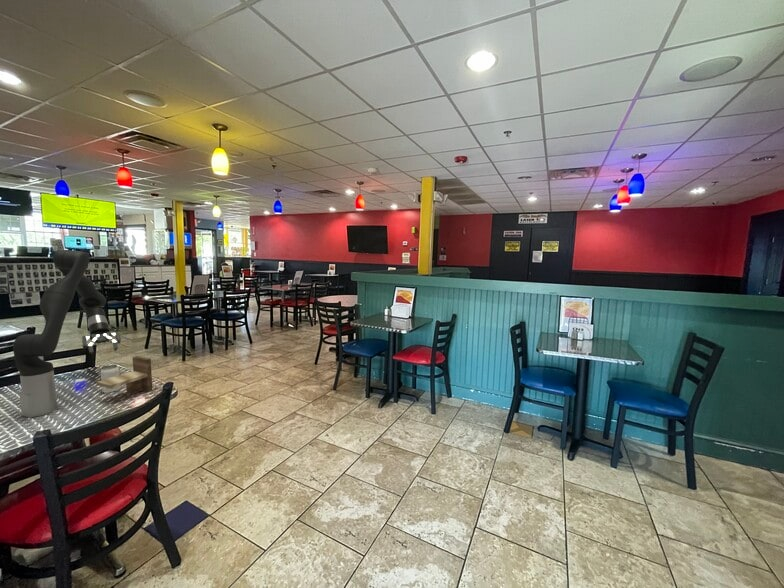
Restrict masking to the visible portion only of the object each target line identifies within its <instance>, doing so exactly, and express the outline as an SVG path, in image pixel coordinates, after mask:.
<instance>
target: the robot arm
mask: <svg viewBox="0 0 784 588" xmlns="http://www.w3.org/2000/svg"><path fill="white" fill-rule="evenodd" d="M52 261H53V263H54V266H55V267H56V268H57V270H59V272H60V273H61V274H63V277H62V278H60V279H59V280H58V281H56V282H54V283H53V284H51V285H50V286H49V287H47V288H46V289H45V290H44V292H43V294H42V297H41V298H40V301H39V304H38V305H39V309H40V311H41V313H42V316H43V318H44V320H45V324H44V328H43V330H42V332H41V333H30V334H29V333H27V334H26V333H25V334H21V335H19V336H17V337H16V339H14V342H13V345H12V348H13V349H12V353H13V357H14V360H15V361H14V362H15V366H16V370H18V372H19V378H20V387H21V389H20V390H21V392H19V395H18V396H19V401H20V402H19V403H20V412H21V416H23V417H25V418H29V419H31V418H34V417H35V418H36V417H41V416H44V415H47V414H50V413H53V412H55V411H56V410H57V409H58V402H57V393H56V381H55V371H54V364H53V363H52V362H50V361H46V360H44V359H43V360H41V359H40V358H39V357H40V356H43V357H48V356H51V355H52V354H54V352H55V351H56V349H57V347H58V344H59V342H60V336H61V333H62V328H63V325H64V321H65V319H66V316H67V314H68V311H69V310H70V307H71V305H72V302H73V299H74V297H75V294H76V292H77V294H78V295H79V297H80V298H79V299H78V303H79V304H78V305H80V307H81V308H82V309H83V310H84V312H85V314H86V318H87V328H88V331H89V335H88V336H87V335H82V336H81V337H82V339H81V341H82V343H81V344H82V349H88V351H89V352H88V353H89V354H91V355H94V354H95V351H94V346H95V345H96V344H101V343H109V344H111V345H112V346H113V347H112V348H113V352H116V351H117V350H118V349H119V346H118V344H121V342H122V340H121V339H122V338H121V336H120V334H119V331H115V332H111V331H110V327H109V323H108V319H107V317H106V312H105V310H104V309H103V308H102V307H103V306H105V305H106V304H107V298H106V297H105V295H104V294H102V293H101V291H98V289H97V288H96V286H95V284H94V282H93V281H92V280H91V279H90V278H89V277H87V276H86V275H85V272H86V271H87V269H88V267H89V264H90V255H89V254H88V253H87V252H86V251H83V250H70V249H58V250H56V251H55V252H54V254H53V257H52ZM113 337H114V338H115V339H114V338H113ZM88 340H91V341H90V342H89V344H88V343H87V342H88Z"/></svg>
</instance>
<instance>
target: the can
mask: <svg viewBox="0 0 784 588" xmlns="http://www.w3.org/2000/svg"><path fill="white" fill-rule="evenodd" d="M118 375H120V371H119V367H118V365H117V364H110V365H105V366H103V367H101V370H100V376H101V377H100V379H101V380H104V379H108V378H111V377H114V376H118ZM101 380H100V381H101ZM120 389H121V386H118V387H115V388H112V389H111V388H107V387H103V386H101V391H102V393H103V392H104V393H103V394H111V393H110V392H112V393H115V392H117V390H118V391H119V390H120ZM114 391H115V392H114Z"/></svg>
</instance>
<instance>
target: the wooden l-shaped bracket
mask: <svg viewBox="0 0 784 588" xmlns="http://www.w3.org/2000/svg"><path fill="white" fill-rule="evenodd" d="M152 377H153V373H152V360H151V358H149V357H143V356H138V355H136V356H132V371H129V372H124V373H121V374H119V375H118V376H114V377H111V378H108V379H104V380H98V381H96V386H99V387H102V386H103V387H107V388H111V389H112V388H115V387H118V386H120V387H121V386H122V385H123V386H124V385H125V387H126V395H128V396H130V395H132V393H133V394H135V393H138V392H141V391H144V392H148V391H149V392H151V391H153V390H154V389H153V378H152ZM140 390H141V391H140ZM150 390H151V391H150Z"/></svg>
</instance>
